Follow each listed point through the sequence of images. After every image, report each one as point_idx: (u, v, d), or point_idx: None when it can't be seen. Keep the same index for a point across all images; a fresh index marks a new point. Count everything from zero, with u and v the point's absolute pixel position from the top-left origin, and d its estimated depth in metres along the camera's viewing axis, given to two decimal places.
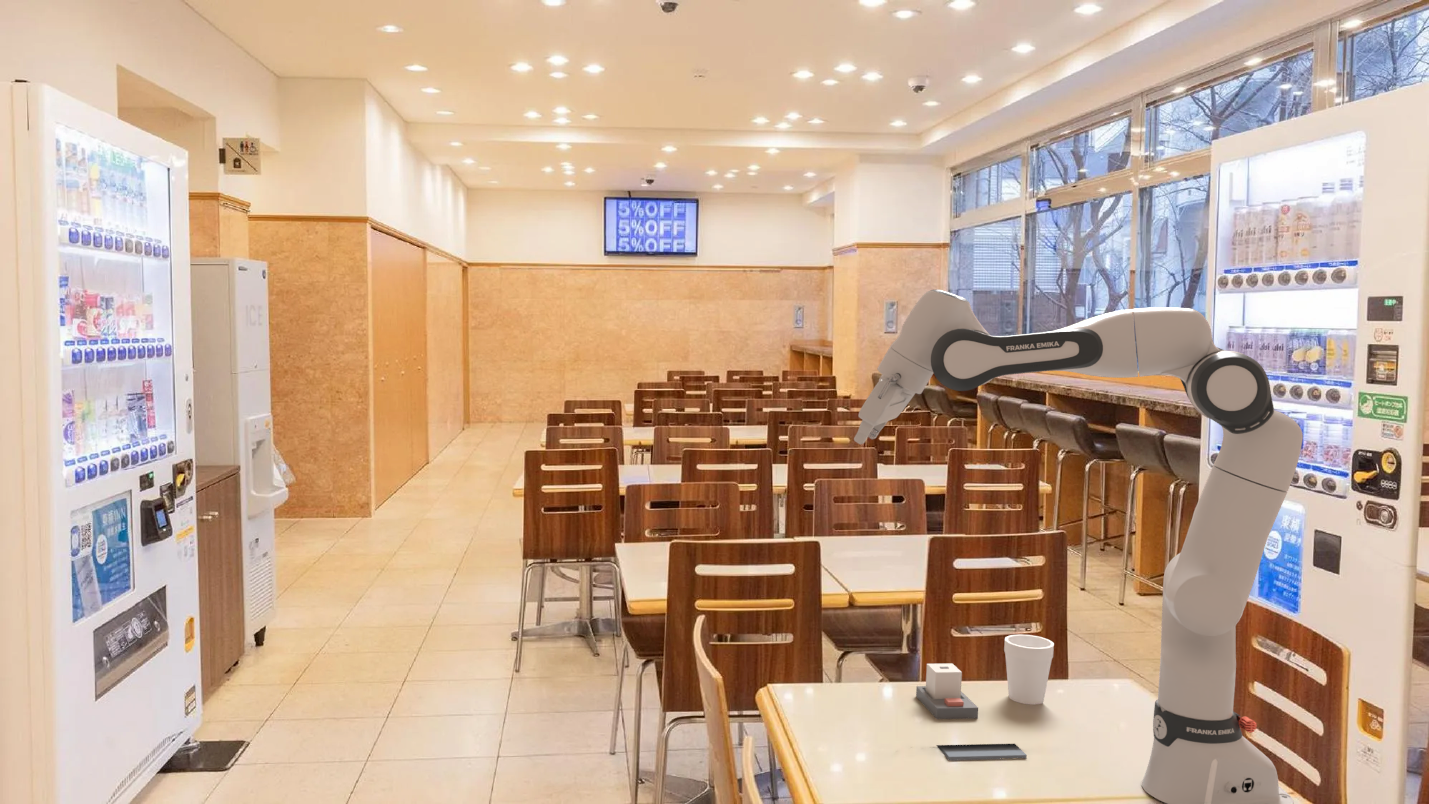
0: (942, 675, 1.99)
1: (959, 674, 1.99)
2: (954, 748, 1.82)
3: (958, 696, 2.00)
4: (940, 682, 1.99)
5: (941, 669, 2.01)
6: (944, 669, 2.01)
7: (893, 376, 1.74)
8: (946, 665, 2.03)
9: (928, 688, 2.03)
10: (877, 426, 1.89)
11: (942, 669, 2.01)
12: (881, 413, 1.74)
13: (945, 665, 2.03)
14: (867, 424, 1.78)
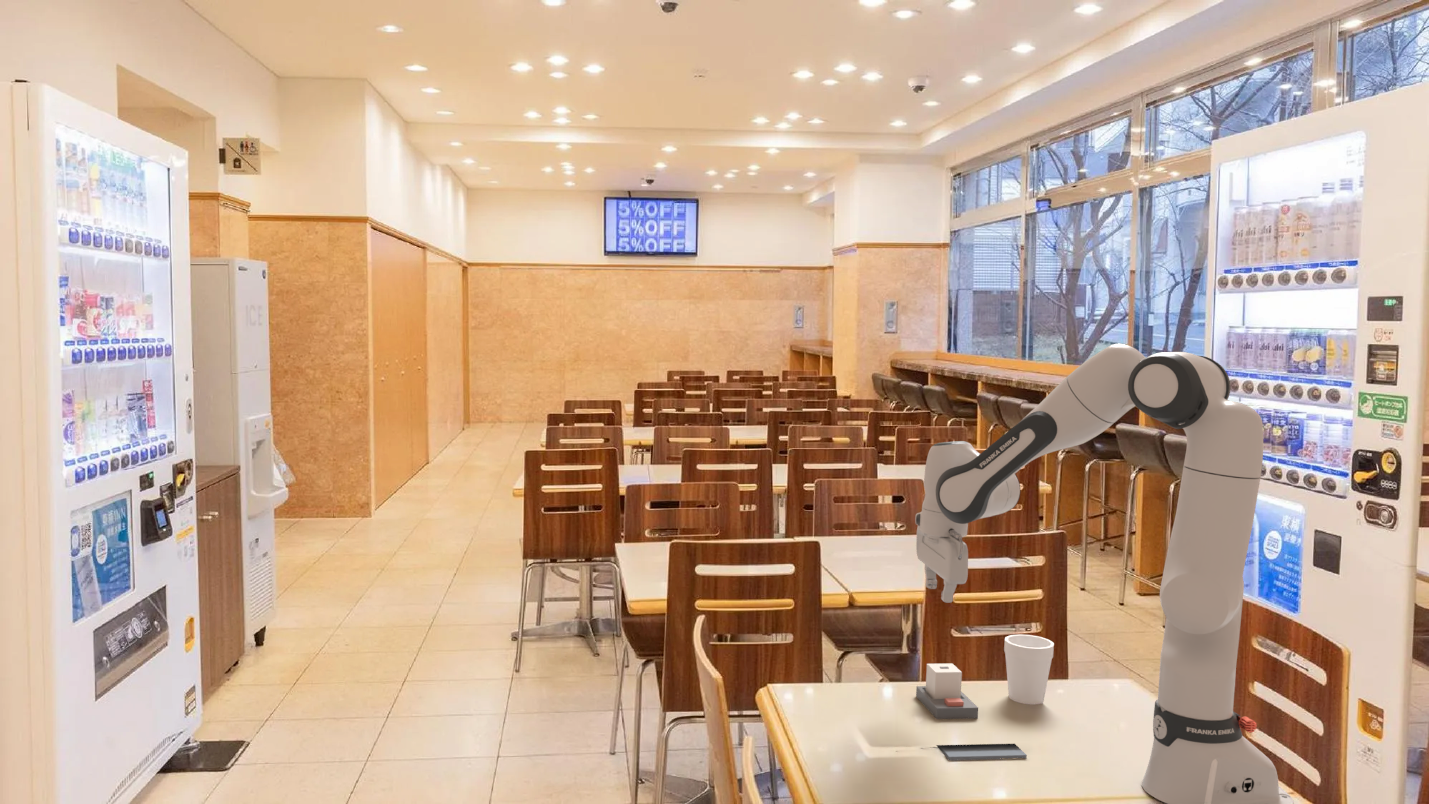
0: (942, 675, 1.99)
1: (959, 674, 1.99)
2: (954, 748, 1.82)
3: (958, 696, 2.00)
4: (940, 682, 1.99)
5: (941, 669, 2.01)
6: (944, 669, 2.01)
7: (960, 535, 1.91)
8: (946, 665, 2.03)
9: (928, 688, 2.03)
10: (931, 575, 2.05)
11: (942, 669, 2.01)
12: (967, 570, 1.90)
13: (945, 665, 2.03)
14: (951, 583, 1.94)
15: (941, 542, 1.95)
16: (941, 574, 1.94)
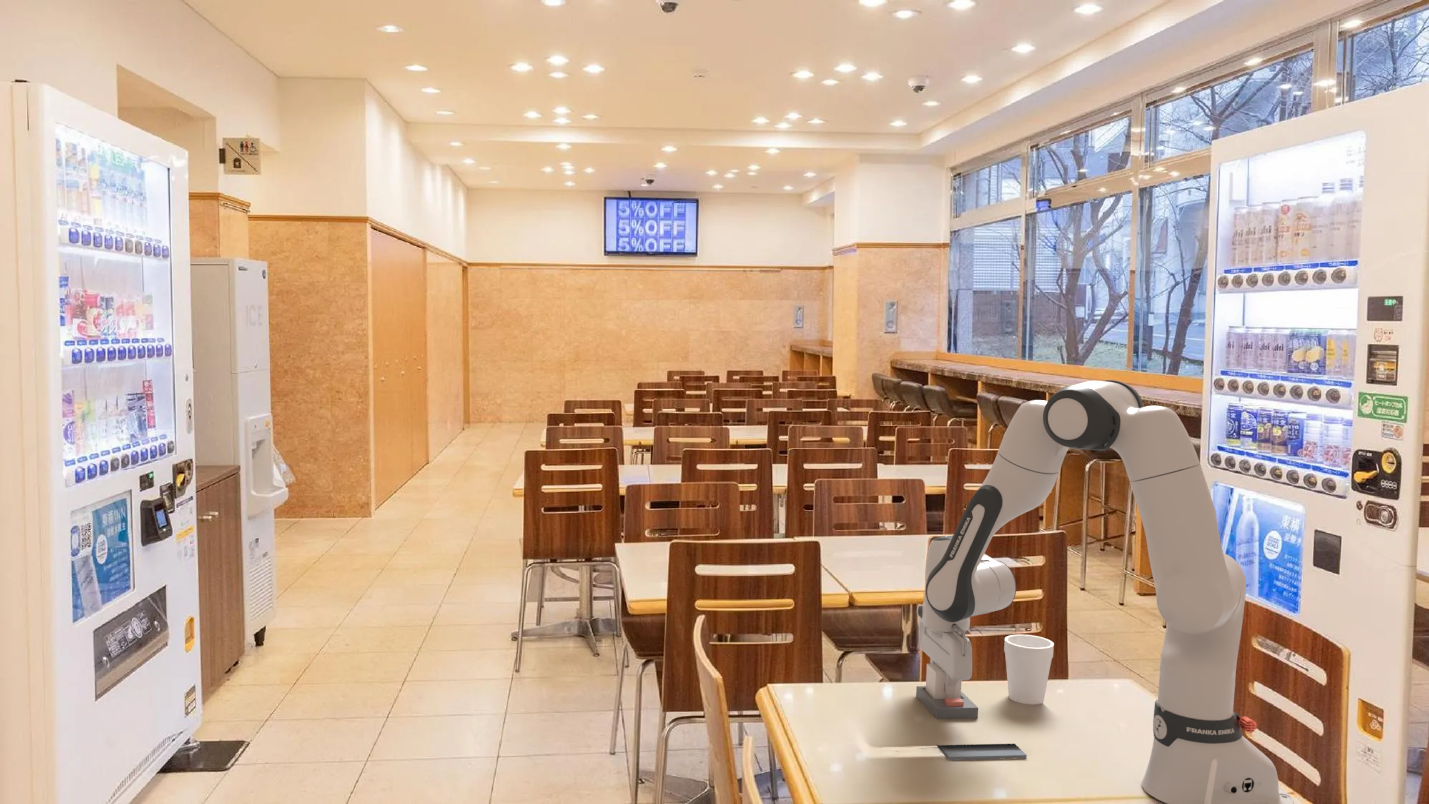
0: (942, 675, 1.99)
1: None
2: (954, 748, 1.82)
3: (958, 696, 2.00)
4: (940, 682, 1.99)
5: (941, 669, 2.01)
6: None
7: (963, 632, 1.92)
8: None
9: (928, 688, 2.03)
10: None
11: (942, 669, 2.01)
12: (971, 666, 1.92)
13: None
14: None
15: (944, 637, 1.97)
16: (946, 669, 1.95)
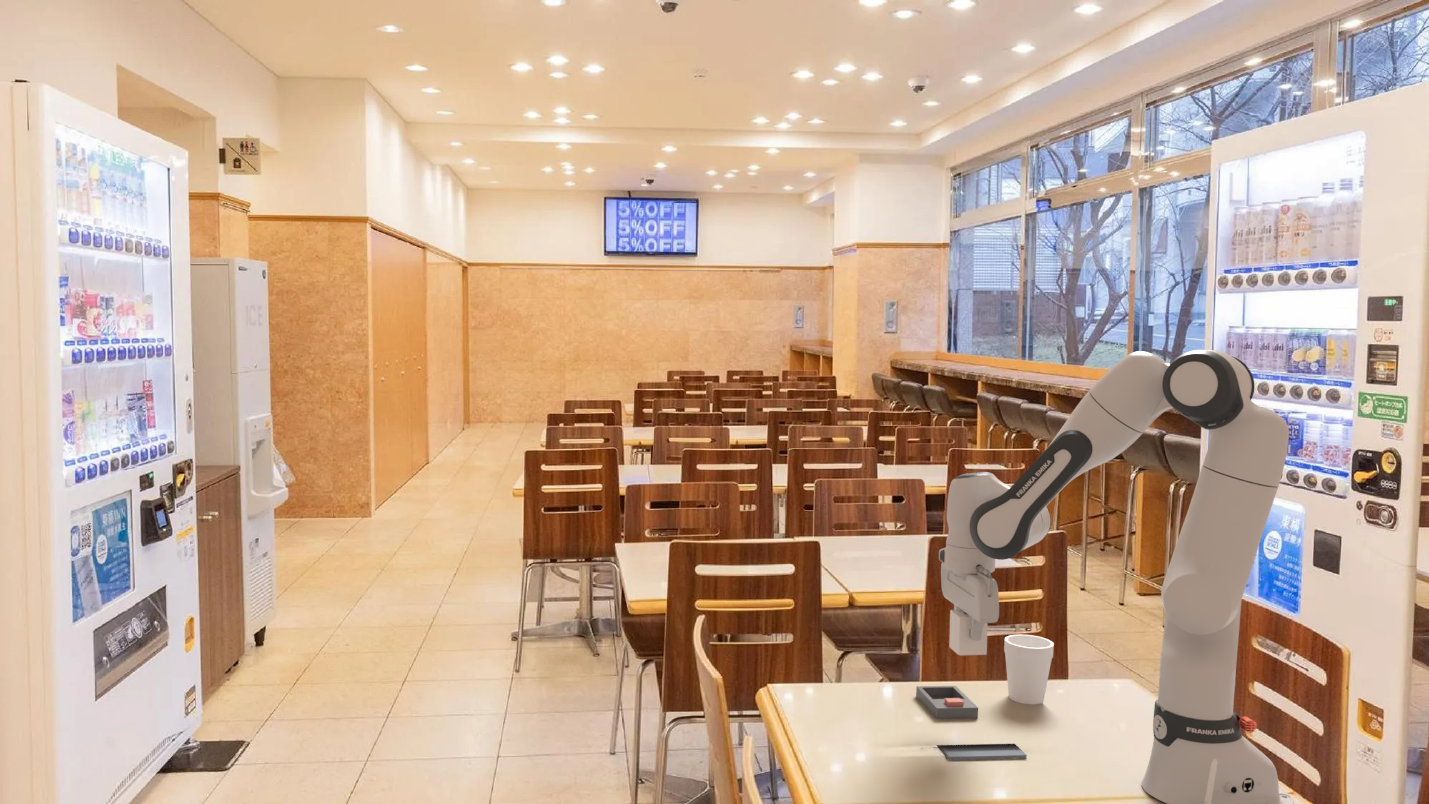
0: (966, 620, 1.88)
1: None
2: (954, 748, 1.82)
3: (984, 642, 1.89)
4: (964, 627, 1.88)
5: (965, 614, 1.90)
6: (969, 615, 1.90)
7: (988, 571, 1.81)
8: None
9: (952, 635, 1.92)
10: None
11: (966, 614, 1.90)
12: (998, 608, 1.81)
13: None
14: None
15: (968, 579, 1.86)
16: (971, 612, 1.85)
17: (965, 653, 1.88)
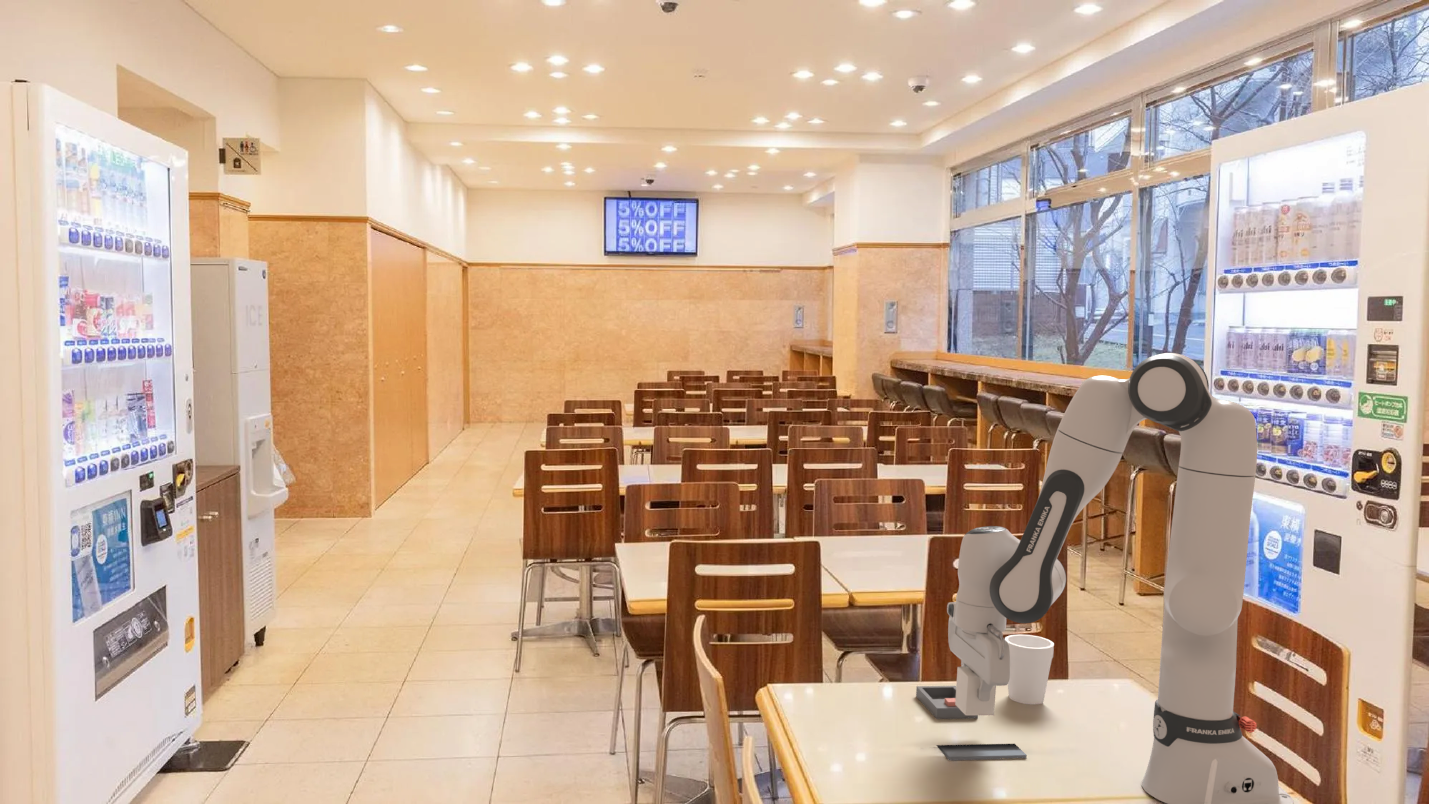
0: (975, 679, 1.82)
1: None
2: (954, 748, 1.82)
3: (992, 703, 1.83)
4: (972, 687, 1.82)
5: (974, 673, 1.84)
6: None
7: (1000, 633, 1.75)
8: None
9: (958, 693, 1.86)
10: None
11: (975, 673, 1.84)
12: (1009, 671, 1.75)
13: None
14: None
15: (978, 639, 1.80)
16: (980, 673, 1.78)
17: (972, 713, 1.82)
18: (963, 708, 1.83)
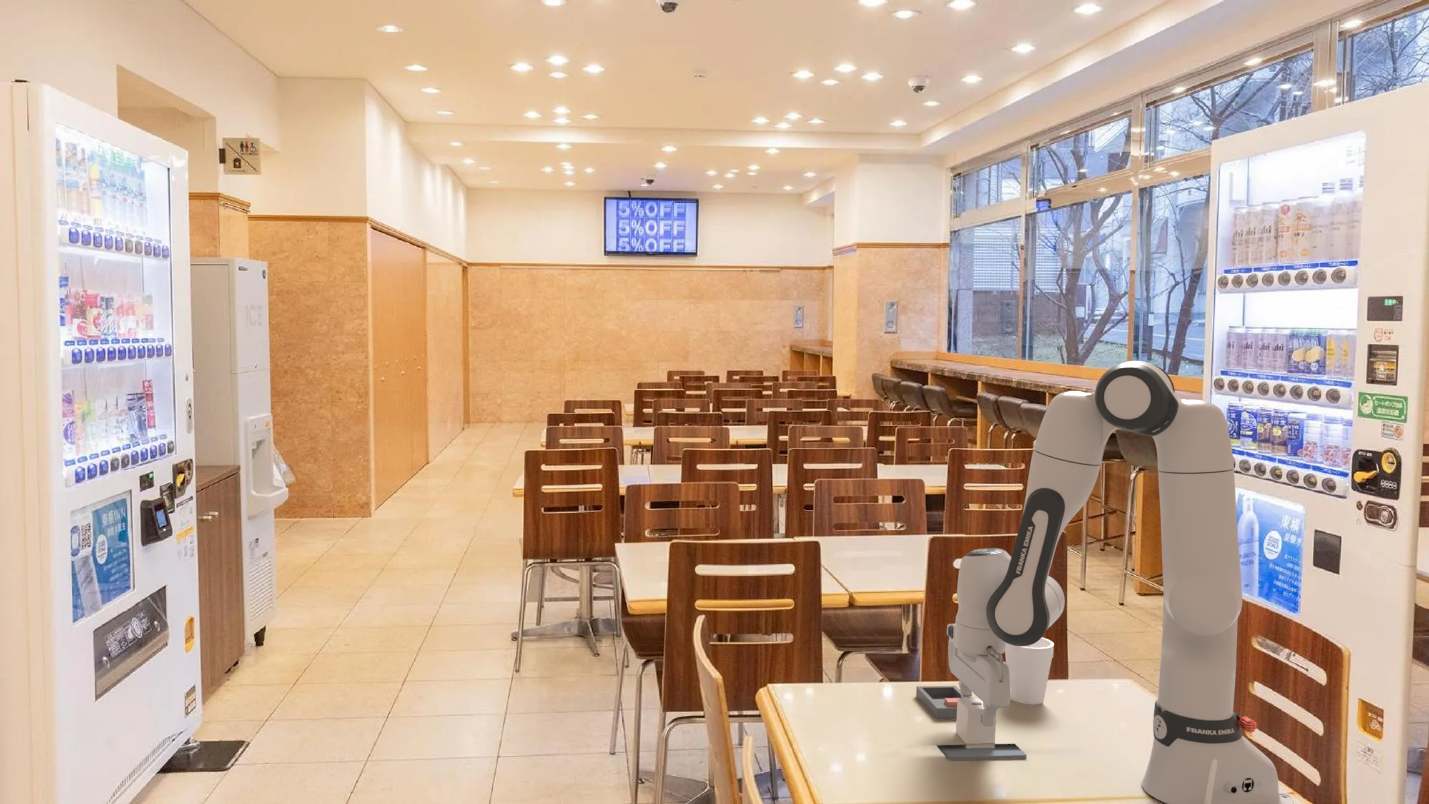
0: (975, 712, 1.82)
1: None
2: (954, 748, 1.82)
3: (992, 735, 1.83)
4: (972, 720, 1.82)
5: (974, 705, 1.84)
6: (977, 706, 1.84)
7: (1000, 655, 1.75)
8: (979, 701, 1.86)
9: (959, 726, 1.86)
10: (967, 691, 1.90)
11: (975, 705, 1.84)
12: (1009, 693, 1.75)
13: (977, 701, 1.86)
14: None
15: (978, 661, 1.80)
16: (981, 696, 1.79)
17: (972, 746, 1.83)
18: None
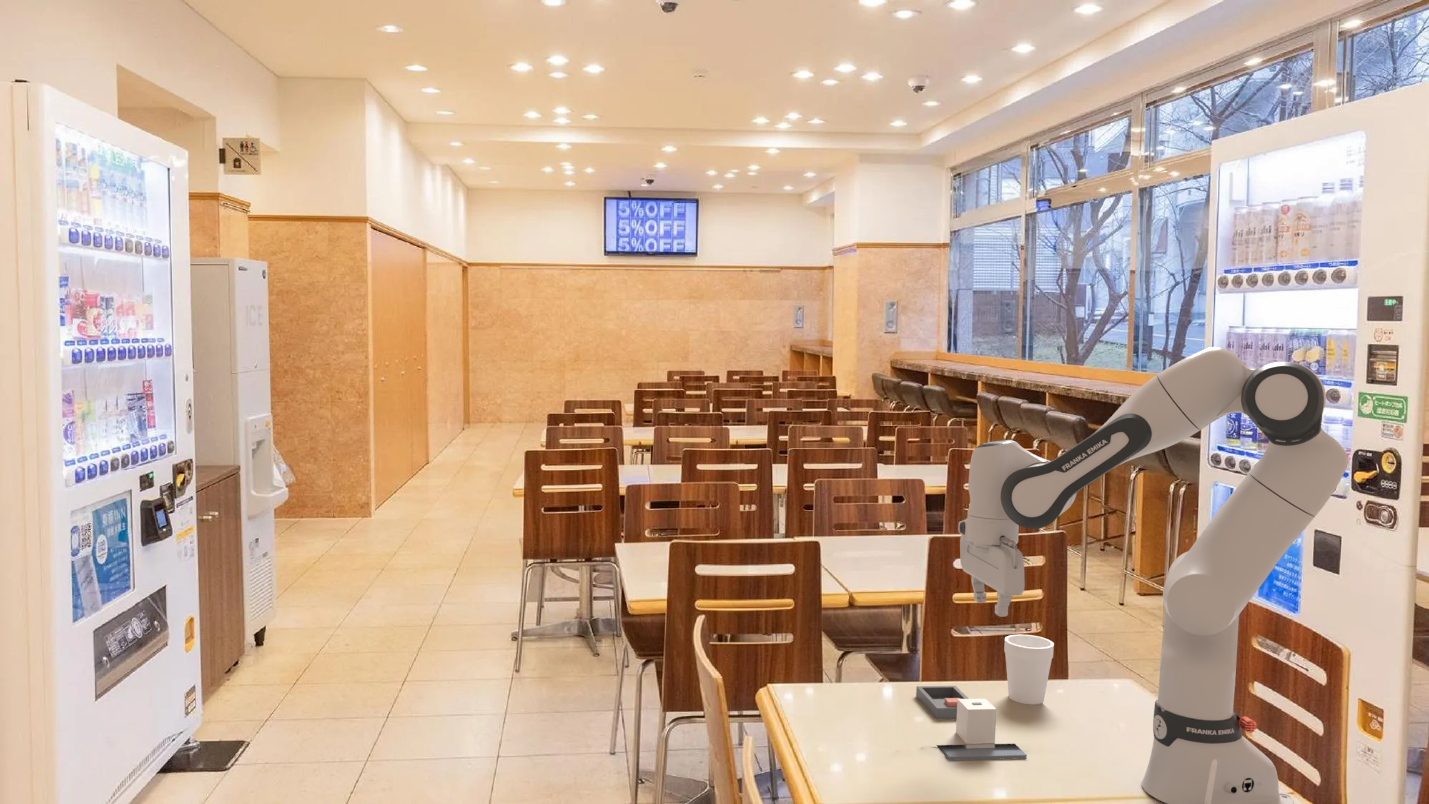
0: (975, 712, 1.82)
1: (993, 711, 1.83)
2: (954, 748, 1.82)
3: (992, 735, 1.83)
4: (972, 720, 1.82)
5: (974, 705, 1.84)
6: (977, 706, 1.84)
7: (1014, 542, 1.75)
8: (979, 701, 1.86)
9: (959, 726, 1.86)
10: (980, 588, 1.89)
11: (975, 705, 1.84)
12: (1024, 580, 1.75)
13: (977, 701, 1.86)
14: (1006, 595, 1.78)
15: (992, 551, 1.79)
16: (995, 585, 1.78)
17: (972, 746, 1.83)
18: None
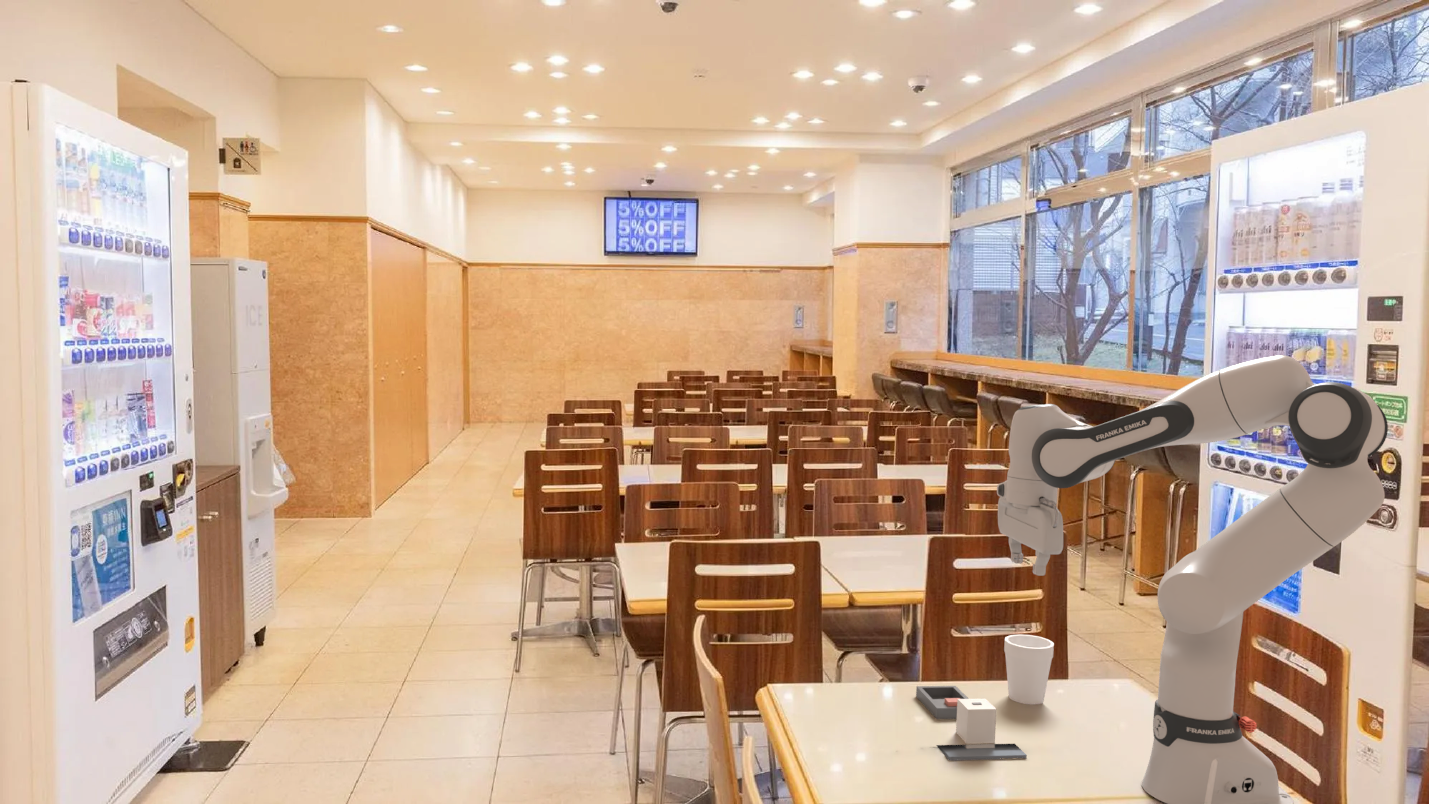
0: (975, 712, 1.82)
1: (993, 711, 1.83)
2: (954, 748, 1.82)
3: (992, 735, 1.83)
4: (972, 720, 1.82)
5: (974, 705, 1.84)
6: (977, 706, 1.84)
7: (1053, 502, 1.79)
8: (979, 701, 1.86)
9: (959, 726, 1.86)
10: (1017, 549, 1.94)
11: (975, 705, 1.84)
12: (1062, 539, 1.79)
13: (977, 701, 1.86)
14: (1044, 555, 1.82)
15: (1031, 512, 1.83)
16: (1033, 545, 1.82)
17: (972, 746, 1.83)
18: None
